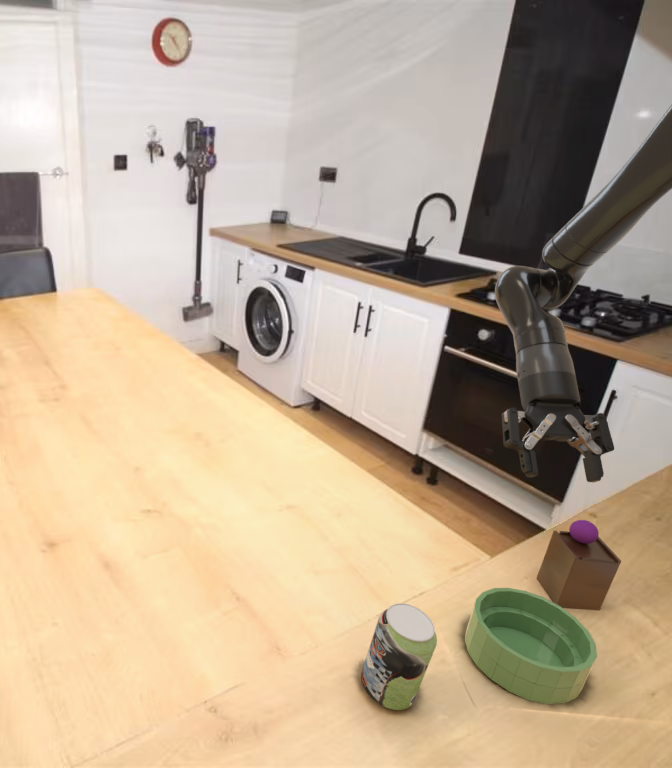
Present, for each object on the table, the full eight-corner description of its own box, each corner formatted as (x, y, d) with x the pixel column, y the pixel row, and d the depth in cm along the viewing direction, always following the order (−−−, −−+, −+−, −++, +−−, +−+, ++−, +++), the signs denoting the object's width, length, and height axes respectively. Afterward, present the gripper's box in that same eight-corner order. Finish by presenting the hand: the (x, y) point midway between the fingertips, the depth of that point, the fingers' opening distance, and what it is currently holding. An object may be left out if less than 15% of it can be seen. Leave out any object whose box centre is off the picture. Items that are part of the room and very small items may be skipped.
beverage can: (373, 662, 68) (382, 584, 64) (435, 698, 63) (448, 614, 59) (349, 694, 64) (357, 611, 60) (413, 734, 59) (426, 647, 55)
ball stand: (535, 578, 81) (553, 530, 77) (576, 582, 80) (596, 533, 76) (555, 607, 76) (575, 557, 72) (599, 612, 75) (621, 561, 71)
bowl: (534, 620, 73) (546, 586, 71) (606, 706, 62) (625, 669, 60) (445, 622, 73) (455, 588, 71) (502, 710, 62) (516, 673, 59)
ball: (584, 542, 76) (584, 519, 77) (604, 546, 73) (604, 522, 74) (563, 540, 76) (563, 517, 77) (582, 544, 73) (582, 520, 73)
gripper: (510, 366, 83) (525, 469, 77) (610, 371, 82) (634, 477, 76) (487, 384, 90) (499, 480, 84) (579, 389, 89) (598, 487, 83)
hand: (563, 478), depth 80 cm, fingers open, 8 cm apart
